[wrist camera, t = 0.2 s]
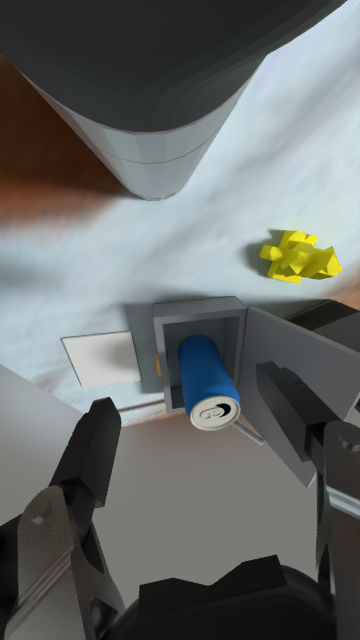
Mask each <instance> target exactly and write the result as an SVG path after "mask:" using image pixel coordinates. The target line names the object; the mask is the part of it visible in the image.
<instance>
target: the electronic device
mask: <svg viewBox="0 0 360 640" xmlns="http://www.w3.org/2000/svg"><path fill="white" fill-rule="evenodd" d="M286 321H289V322H291V323H293V324H296V325H298V326H300V327H302V328H305V329H307V330H309V331H312V332H314V333H316V334H318V335H321V336H323V337H325V338H328V339H330V340H332V341H334V342H337V343H339V344H341V345H344V346H346V347H348V348H350V349H353V350H355V351H357V352H360V311H358V310H356V309H354V308H351V307H349V306H347V305H344V304H342V303H340V302H337V301H335V300H329V301H326V302H324V303H321V304H319V305H317V306H315V307H312V308H310V309H308V310H305V311H303V312H301V313H298V314H296V315H294V316H291V317H289V318H288V319H286ZM354 408H355V409H356V410H357V411H359V412H360V398H359V400H358V402H357V404H356V405H355V407H354Z"/></svg>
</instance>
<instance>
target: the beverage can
mask: <svg viewBox="0 0 360 640" xmlns="http://www.w3.org/2000/svg"><path fill="white" fill-rule="evenodd" d="M178 361H179V368H180V375H181V382H182V389H183V397H184V404H185V410H186V413H187V415H188V416H189V417H190V419H191V422H192V424H193V425H194V426H195V427H197V428H199V429H202V430H218V429H222V428H225V427H227V426H228V425H230V424H232V423H233V422H234V421H235V420H236V419H237V418H238V416H239V414H240V406H239V403H240V399H239V395H238V392H237V390H236V388H235V386H234V384H233V382H232V379H231V377H230V375H229V373H228V371H227V369H226V367H225V364H224V362H223V360H222V358H221V356H220V354H219V352H218V349H217V347H216V345H215V343H214V342H213V341H212V340H211V339H209V338H207V337H203V336H195V337H191V338H189V339H187V340H185V341H184V342H183V343H182V344H181V345H180V347H179V349H178Z"/></svg>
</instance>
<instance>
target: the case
mask: <svg viewBox="0 0 360 640" xmlns="http://www.w3.org/2000/svg"><path fill="white" fill-rule="evenodd" d="M247 314H248V317H247ZM226 317H227V331H226V348H225V367H226V369H227V371H228V373H229V375H230V377H231V379H232V382H233V384H234V386H235V388H236V390H237V392H239V394H238V395H239V399H240V403H239V406H240V412H241V413H242V415H243V416H244V417H245V418H246V419H247V420H248V422H249V423H250V424H251V425H252V426H253V427H254V428H255V430H256V431H257V432H258V433H259V434H260V435H261V436H262V438H264V440H265V441H266V442H267V443H268V444H269V446H270V447H271V448H272V449H273V450H274V451H275V452H276V454H277V455H278V456H279V457H280V458H281V459H282V460H283V462H284V463H285V464H286V465H287V466H288V467H289V469H290V470H292V472H293V473H294V474H295V475H296V477H297V478H298V479H299V480H300V481H301V482H302V483H303V484H304V486H305V487H306V488H308V487H309V486H310V485H311V484H312V483H313V481H314V479H315V477H316V471H317V469H316V467H315V466H314V464H313V463H312V461H311V460H310V461H306V462H302V461H301V460H300V458H299V456H298V455H297V453H296V451H295V450H294V448H293V447H292V445H291V443H290V442H289V440H288V439H287V437H286V435H285V434H284V432H283V431H282V429H281V427H280V426H279V424H278V422H277V421H276V419H275V418H274V416H273V414H272V413H271V411H270V410H269V408H268V406H267V405H266V403H265V402H264V400H263V398H262V397H261V395H260V393H259V390H258V387H257V377H256V363H258V362H263V361H267V360H272V361H274V363H275V364H276V365H277V366H278V367H279V368H283V367H286V368H287V369H289V370H291V371H293V372H295V373H296V374H297V375H298V376H299V377H300V378H301V379H302V380H303V382H304V383H306V384H307V385H308V386H309V387H310V389H311V390H313V391H314V393H315V394H316V395H317V396H318V397H319V398H320V399H321V400H322V401H323V402H324V403H325V404H326V405H327V406H328V407H329V408H330V409H331V410H332V411H333V412H334V413H335V414H336V415H337V416H338V417H339V418H340V419H341V420H342V421H345V422H346V421H347V420H348V418H349V416H350V414H351V413H352V410H353V409H354V407H355V405H356V404H357V402H358V400H359V398H360V352H357V351H355V350H353V349H350V348H348V347H346V346H344V345H341V344H339V343H337V342H334V341H332V340H330V339H328V338H325V337H323V336H321V335H318V334H316V333H314V332H312V331H309V330H307V329H305V328H302V327H300V326H298V325H296V324H293V323H291V322H289V321H286V320H284V319H282V318H280V317H277V316H275V315H273V314H270V313H268V312H266V311H264V310H261V309H259V308H257V307H254V306H252V307H249V308H247V307H246V306H245V305H244V304H243V303H242V302H241V301H240V300H239V299H238V298H237V297H236V296H231V297H220V298H210V299H200V300H189V301H179V302H169V303H158V304H154V307H153V323H154V330H155V337H156V344H157V350H158V354H156V366H157V373H158V376H161V377H162V384H163V391H164V398H165V404H166V411H167V414H170V413H177V412H185V411H186V410H185V404H184V397H183V389H182V387H173V388H171V385H170V376H169V368H168V360H167V352H166V343H165V335H164V327H163V324H168V323H178V322H187V321H197V320H207V319H217V318H226ZM246 323H247V325H246ZM245 331H246V334H245ZM244 340H245V342H244ZM243 349H244V351H243ZM242 357H243V359H242ZM241 366H242V368H241ZM240 374H241V376H240ZM239 383H240V385H239ZM231 425H233V426H234V427H236V428H237V429H239V430H240V431H241V432H243V433H244V434H246V435H247V436H249V437H250V438H252V439H253V440H255V441H256V442H258V443H259V444H260V445H262V444H263V442H264V440H263V439H262V438H260V437H259V436H257V435H256V434H254V433H253V432H251V431H250V430H248V429H247V428H245V427H244V426H242V425H241V424H239V423H238V422H236V421H234V422H233V423H232V424H231Z"/></svg>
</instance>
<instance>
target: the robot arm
mask: <svg viewBox="0 0 360 640" xmlns="http://www.w3.org/2000/svg"><path fill="white" fill-rule="evenodd" d="M346 1H347V0H0V51H1V52H2V53H3V54H4V55H5V56H6V57H7V58H8V59H9V61H10V62H11V63H12V64H13V65H14V66H15V67H16V68H17V69H18V70H19V72H20V73H21V74H22V75H23V76H24V77H25V78H26V79H27V80H28V81H29V82H30V84H31V85H32V86H33V87H34V88H35V89H36V90H37V91H38V92H39V93H40V95H41V96H42V97H43V98H44V99H45V100H46V101H47V102H48V103H49V104H50V106H51V107H52V108H53V109H54V110H55V111H56V112H57V113H58V114H59V115H60V116H61V117H62V118H63V119H64V121H65V122H66V123H67V124H68V125H69V126H70V127H71V128H72V129H73V131H74V132H75V133H76V134H77V135H78V136H79V137H80V138H81V139H82V140H83V142H84V143H85V144H86V145H87V146H88V147H89V148H90V149H91V150H92V152H93V153H94V154H95V155H96V156H97V157H98V158H99V159H100V160H101V161H102V163H103V164H104V165H105V166H106V167H107V168H108V169H109V170H110V171H111V173H112V174H113V175H114V176H115V177H116V178H117V179H118V180H119V181H120V183H121V184H122V185H123V186H124V187H125V188H126V189H128V190H129V191H130V192H131V193H133V194H134V195H136V196H138V197H140V198H143V199H146V200H152V201H159V200H164V199H167V198H169V197H171V196H174V195H175V194H176V193H177V192H179V191H180V190H181V189H182V188H183V186H184V185H185V184H186V183H187V181H188V180H189V178H190V176H191V175H192V174H193V172H194V170H195V169H196V167H197V166H198V164H199V162H200V161H201V159H202V158H203V156H204V155H205V153H206V151H207V150H208V148H209V147H210V145H211V143H212V142H213V140H214V139H215V137H216V135H217V134H218V132H219V131H220V129H221V127H222V126H223V124H224V123H225V121H226V120H227V118H228V116H229V115H230V113H231V112H232V110H233V108H234V107H235V105H236V104H237V102H238V100H239V98H240V97H241V95H242V93H243V92H244V90H245V89H246V87H247V86H248V84H249V82H250V81H251V79H252V78H253V76H254V74H255V73H256V71H257V70H258V68H259V66H260V65H261V63H262V62H263V60H264V58H265V57H266V56H267V54H269V53H271V52H273V51H275V50H276V49H278V48H280V47H282V46H283V45H285V44H287V43H289V42H290V41H292V40H293V39H295V38H296V37H298V36H299V35H301V34H302V33H304V32H306V31H307V30H309V29H310V28H312V27H313V26H314V25H316V24H317V23H318V22H320V21H321V20H323V19H324V18H325V17H327V16H328V15H329V14H331V13H332V12H333V11H335V10H336V9H337V8H339V7H340V6H341V5H342V4H344V3H345V2H346ZM256 377H257V387H258V390H259V393H260V395H261V397H262V398H263V400H264V402H265V403H266V405H267V406H268V408H269V410H270V411H271V413H272V414H273V416H274V418H275V419H276V421H277V422H278V424H279V426H280V427H281V429H282V431H283V432H284V434H285V435H286V437H287V439H288V440H289V442H290V443H291V445H292V447H293V448H294V450H295V451H296V453H297V455H298V456H299V458H300V460H301V461H302V462H306V461H310V460H311V461H312V463H313V464H314V466H315V467H316V469H317V471H316V476H317V479H316V480H317V481H316V482H317V537H316V581H315V580H313V579H312V578H310V577H309V576H307V575H306V574H304V573H302V572H300V571H298V570H296V569H294V568H291V567H288V566H285V565H280V562H279V560H278V557H277V555H272V556H268V557H263V558H259V559H254V560H250V561H245V562H242V563H241V564H240V565H238V566H237V567H236V568H234V569H233V570H232V571H230V572H229V573H227V574H226V575H225V576H224V577H222V578H221V579H219V580H218V581H217V582H215V583H214V584H212V585H209V586H207V585H202V584H198V583H193V582H189V581H185V580H181V579H177V578H169V579H165V580H160V581H156V582H152V583H148V584H143V585H140V587H139V588H140V589H139V598H138V599H137V600H136V601H135V602H133V603H132V604H131V605H130V606H129V607H128V608H127V610H126V608H125V605H124V602H123V599H122V597H121V595H120V592H119V590H118V588H117V586H116V584H115V583H114V581H113V579H112V577H111V575H110V572H109V570H108V567H107V564H106V560H105V557H104V554H103V551H102V548H101V545H100V542H99V539H98V536H97V532H96V529H95V526H94V523H93V521H92V515H93V511H94V509H95V508H99V507H104V505H105V501H106V496H107V491H108V487H109V482H110V477H111V473H112V468H113V463H114V458H115V454H116V449H117V444H118V439H119V435H120V430H121V417H120V414H119V413H118V411H117V409H116V407H115V405H114V403H113V401H112V399H111V398H110V397H107V398H102V399H98V400H95V401H93V403H92V405H91V408H90V410H89V412H88V413H85V414H84V415H83V416H82V418H81V419H80V420H79V421H78V423H77V425H76V427H75V429H74V432H73V433H72V436H71V438H70V440H69V442H68V446H67V447H66V449H65V451H64V453H63V455H62V458H61V460H60V462H59V464H58V467H57V469H56V471H55V473H54V475H53V478H52V480H51V482H50V484H49V486H48V487H47V488H45V489H44V490H42V491H41V492H40V493H38V494H37V495H36V496H35V497H34V498H33V499H32V500H31V502H30V503H29V504H28V506H27V507H26V508H25V510H24V512H23V513H22V514H20V515H19V516H17V517H15V518H13V519H12V520H10V521H8V522H7V523H5V524H3V525H2V526H0V640H360V428H359V427H358V426H356V425H353V424H351V423H348V422H345V421H342V420H341V419H340V418H339V417H338V416H337V415H336V414H335V413H334V412H333V411H332V410H331V409H330V408H329V407H328V406H327V405H326V404H325V403H324V402H323V401H322V400H321V399H320V398H319V397H318V396H317V395H316V394H315V393H314V391H313V390H311V389H310V387H309V386H308V385H307V384H306V383H304V382H303V380H302V379H301V378H300V377H299V376H298V375H297V374H296V373H295V372H293V371H291V370H289V369H287V368H286V367H283V368H279V367H278V366H277V365H276V364H275V363H274V361H272V360H267V361H263V362H258V363H256Z"/></svg>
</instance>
